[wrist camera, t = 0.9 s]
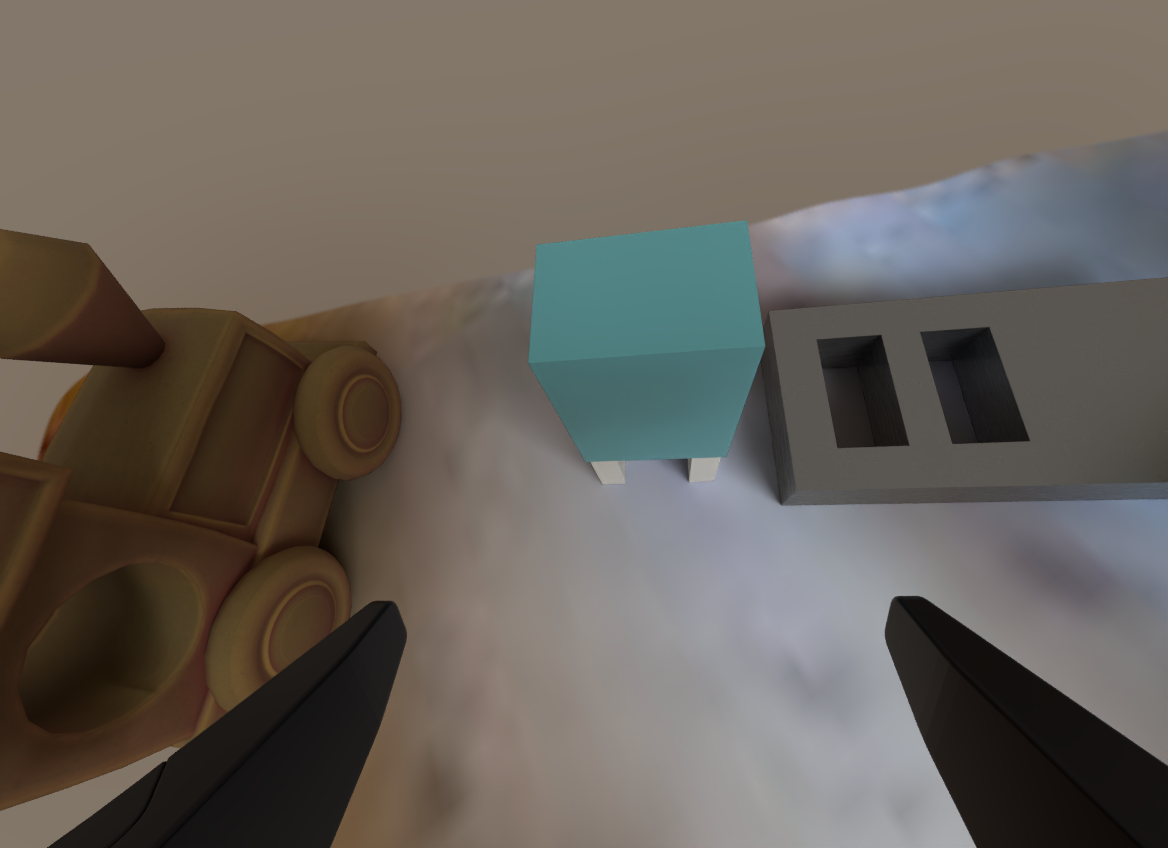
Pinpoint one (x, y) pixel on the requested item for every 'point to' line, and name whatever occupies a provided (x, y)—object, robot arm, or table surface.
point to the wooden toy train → (164, 516)
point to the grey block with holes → (978, 396)
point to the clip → (648, 343)
